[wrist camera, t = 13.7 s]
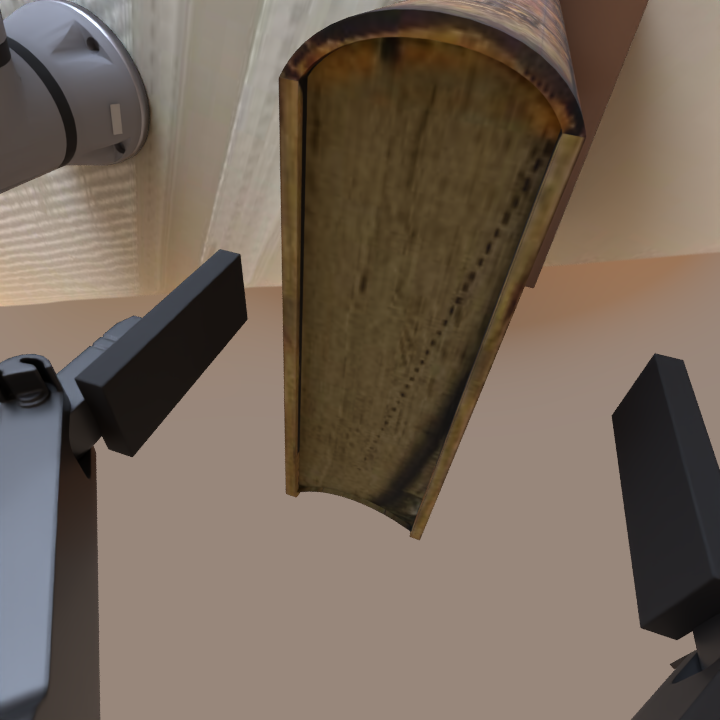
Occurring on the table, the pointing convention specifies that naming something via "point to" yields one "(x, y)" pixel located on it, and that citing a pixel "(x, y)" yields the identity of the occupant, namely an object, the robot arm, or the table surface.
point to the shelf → (592, 76)
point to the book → (412, 231)
